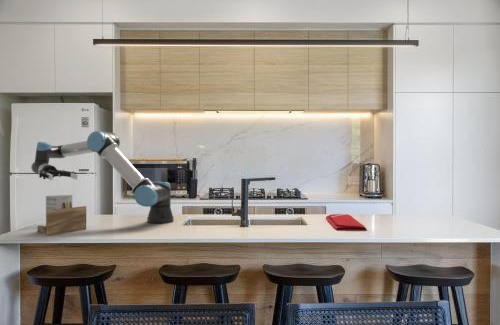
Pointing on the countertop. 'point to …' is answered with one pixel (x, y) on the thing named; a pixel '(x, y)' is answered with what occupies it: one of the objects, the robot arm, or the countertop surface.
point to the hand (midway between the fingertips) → (64, 177)
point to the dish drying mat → (344, 222)
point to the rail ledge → (64, 220)
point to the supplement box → (58, 202)
